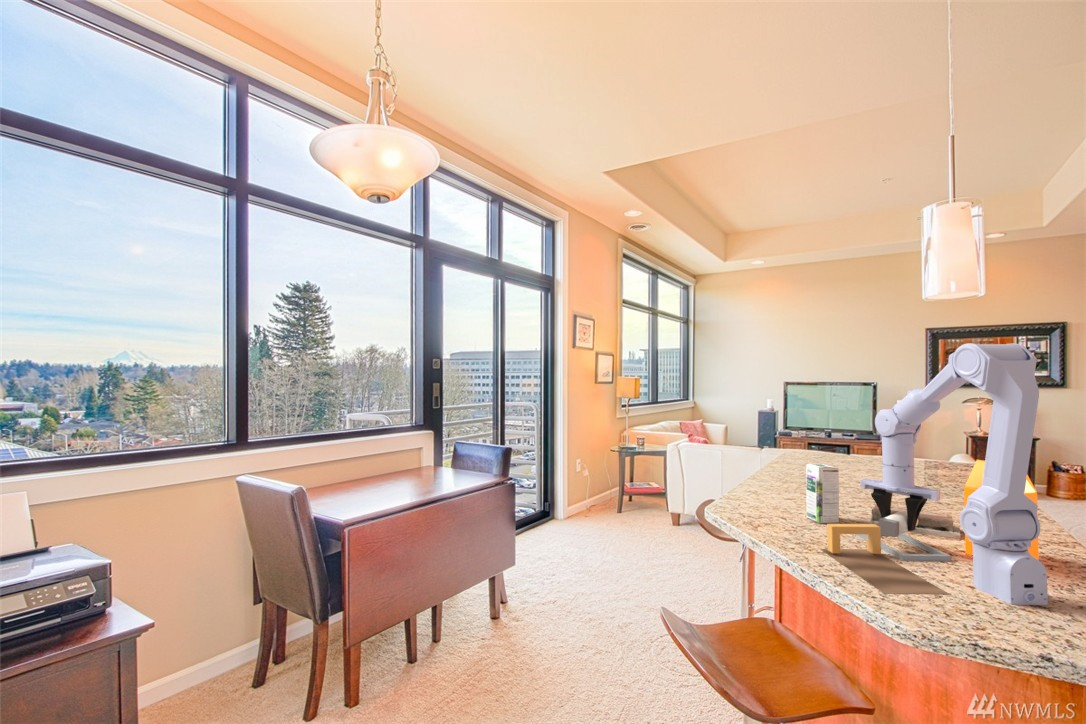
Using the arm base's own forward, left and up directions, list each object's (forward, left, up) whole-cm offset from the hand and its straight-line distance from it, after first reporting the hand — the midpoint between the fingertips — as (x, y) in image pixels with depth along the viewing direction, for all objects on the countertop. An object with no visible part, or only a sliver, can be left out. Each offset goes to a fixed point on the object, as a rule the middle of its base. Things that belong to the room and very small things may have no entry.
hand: (899, 527), depth 111 cm
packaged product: (+17, -15, -6) cm, 23 cm away
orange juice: (-4, -18, -5) cm, 19 cm away
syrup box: (+23, +5, -5) cm, 24 cm away
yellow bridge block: (-5, +12, -4) cm, 14 cm away
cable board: (-13, +12, -5) cm, 19 cm away
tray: (0, 0, -5) cm, 5 cm away
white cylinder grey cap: (0, 0, -1) cm, 1 cm away
